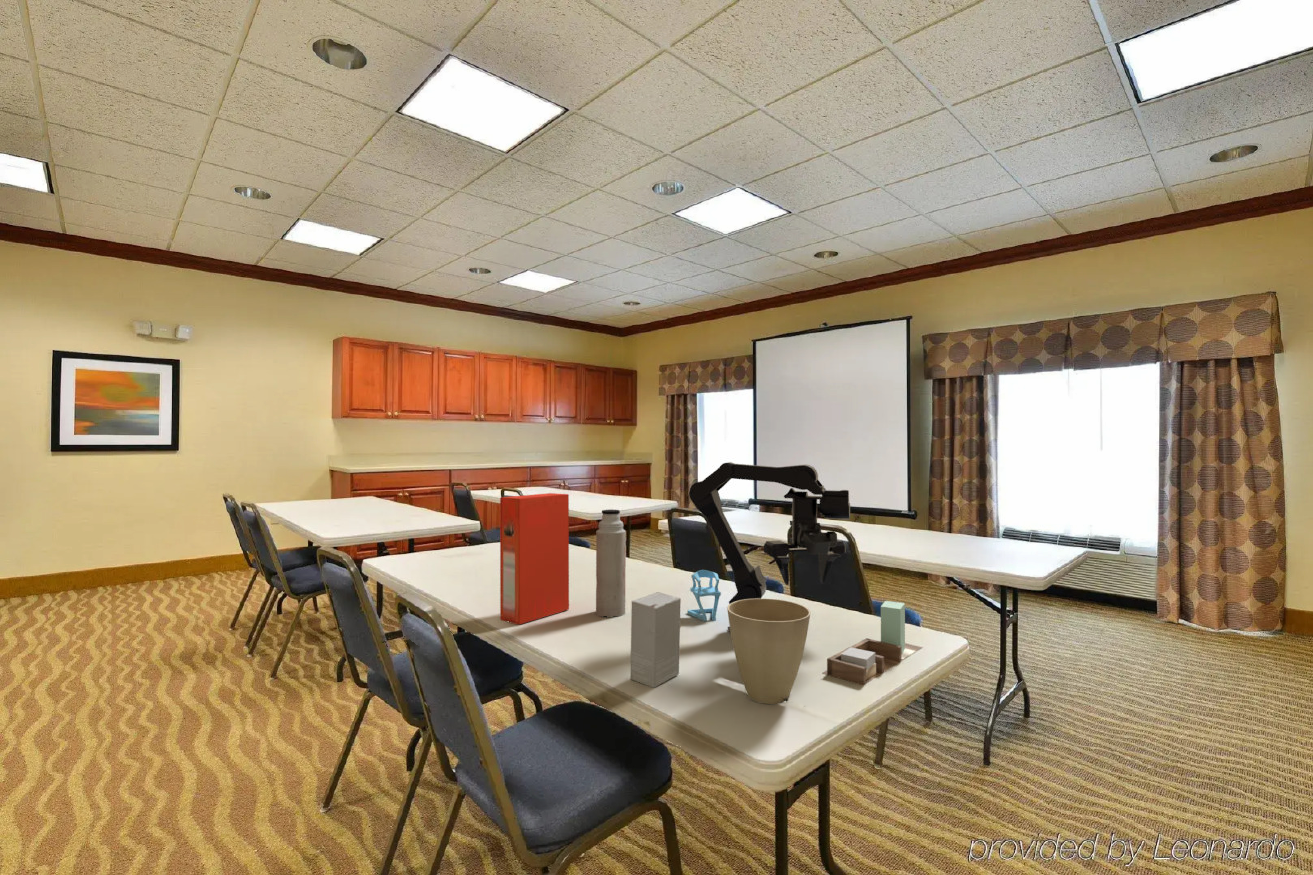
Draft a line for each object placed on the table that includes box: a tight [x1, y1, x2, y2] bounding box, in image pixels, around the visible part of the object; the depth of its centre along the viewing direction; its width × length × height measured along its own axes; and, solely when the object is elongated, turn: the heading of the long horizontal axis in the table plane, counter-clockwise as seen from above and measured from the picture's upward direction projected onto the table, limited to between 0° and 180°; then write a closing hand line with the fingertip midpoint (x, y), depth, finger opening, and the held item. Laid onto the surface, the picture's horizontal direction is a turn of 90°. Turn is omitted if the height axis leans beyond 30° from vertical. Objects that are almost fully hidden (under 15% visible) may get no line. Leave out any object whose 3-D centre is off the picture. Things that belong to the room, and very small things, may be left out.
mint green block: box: [880, 600, 906, 653], centre depth 131 cm, size 6×4×10 cm
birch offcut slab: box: [866, 663, 876, 680], centre depth 118 cm, size 5×5×2 cm
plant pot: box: [726, 597, 811, 705], centre depth 110 cm, size 15×15×16 cm
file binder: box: [499, 492, 570, 625], centre depth 162 cm, size 8×17×32 cm, turn 143°
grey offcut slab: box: [841, 646, 875, 670], centre depth 118 cm, size 5×5×2 cm
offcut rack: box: [821, 638, 924, 686], centre depth 126 cm, size 30×8×4 cm, turn 136°
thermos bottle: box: [595, 509, 627, 618], centre depth 164 cm, size 8×8×28 cm
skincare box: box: [629, 591, 682, 688], centre depth 118 cm, size 8×7×16 cm
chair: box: [687, 569, 722, 622], centre depth 161 cm, size 8×8×12 cm
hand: (804, 583), depth 143 cm, fingers open, 9 cm apart
